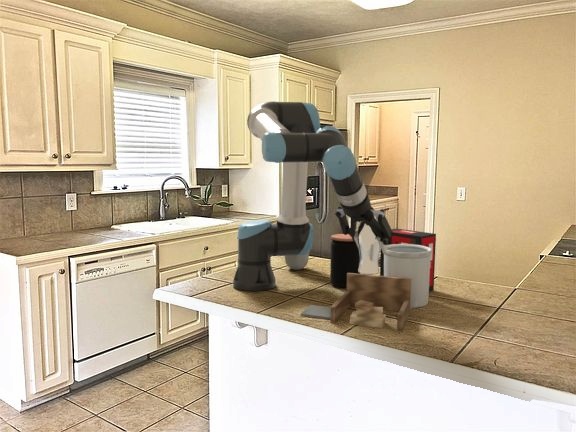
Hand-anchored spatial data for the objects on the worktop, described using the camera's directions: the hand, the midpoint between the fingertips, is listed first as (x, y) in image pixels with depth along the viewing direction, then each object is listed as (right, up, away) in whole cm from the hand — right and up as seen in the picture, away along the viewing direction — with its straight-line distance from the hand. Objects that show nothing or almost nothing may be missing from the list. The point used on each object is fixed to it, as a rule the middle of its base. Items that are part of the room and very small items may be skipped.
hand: (373, 248), depth 139 cm
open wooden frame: (-1, -20, -3) cm, 20 cm away
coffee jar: (-5, -16, +32) cm, 36 cm away
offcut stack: (-3, -20, -8) cm, 22 cm away
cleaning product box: (+17, -16, +29) cm, 37 cm away
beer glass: (-2, -7, -2) cm, 8 cm away
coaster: (-16, -19, +1) cm, 25 cm away
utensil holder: (+12, -18, +12) cm, 25 cm away
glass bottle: (-22, -13, +57) cm, 62 cm away
